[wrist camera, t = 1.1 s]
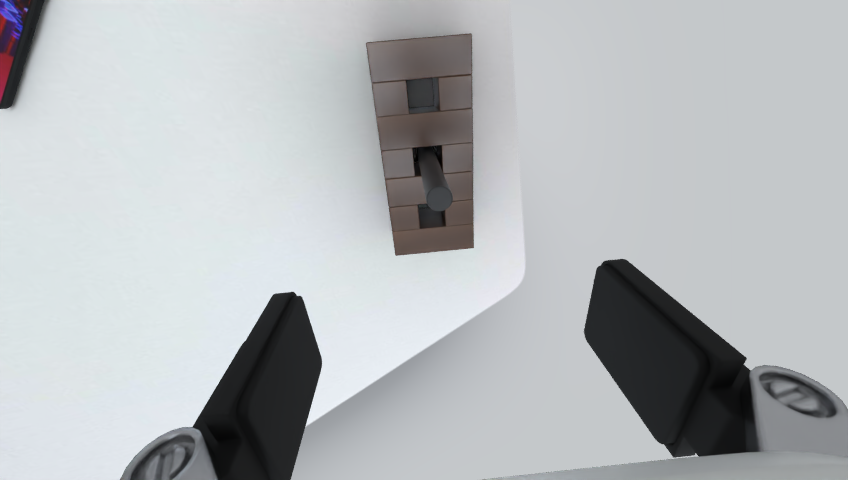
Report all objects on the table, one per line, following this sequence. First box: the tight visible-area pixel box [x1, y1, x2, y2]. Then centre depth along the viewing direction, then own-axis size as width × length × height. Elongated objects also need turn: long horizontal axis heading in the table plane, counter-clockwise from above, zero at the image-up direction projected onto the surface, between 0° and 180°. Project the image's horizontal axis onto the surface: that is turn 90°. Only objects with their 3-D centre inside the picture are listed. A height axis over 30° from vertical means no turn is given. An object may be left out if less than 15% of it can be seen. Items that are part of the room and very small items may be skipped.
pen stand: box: [366, 33, 474, 256], centre depth 28 cm, size 17×7×5 cm, turn 5°
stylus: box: [417, 146, 453, 211], centre depth 24 cm, size 2×2×14 cm
